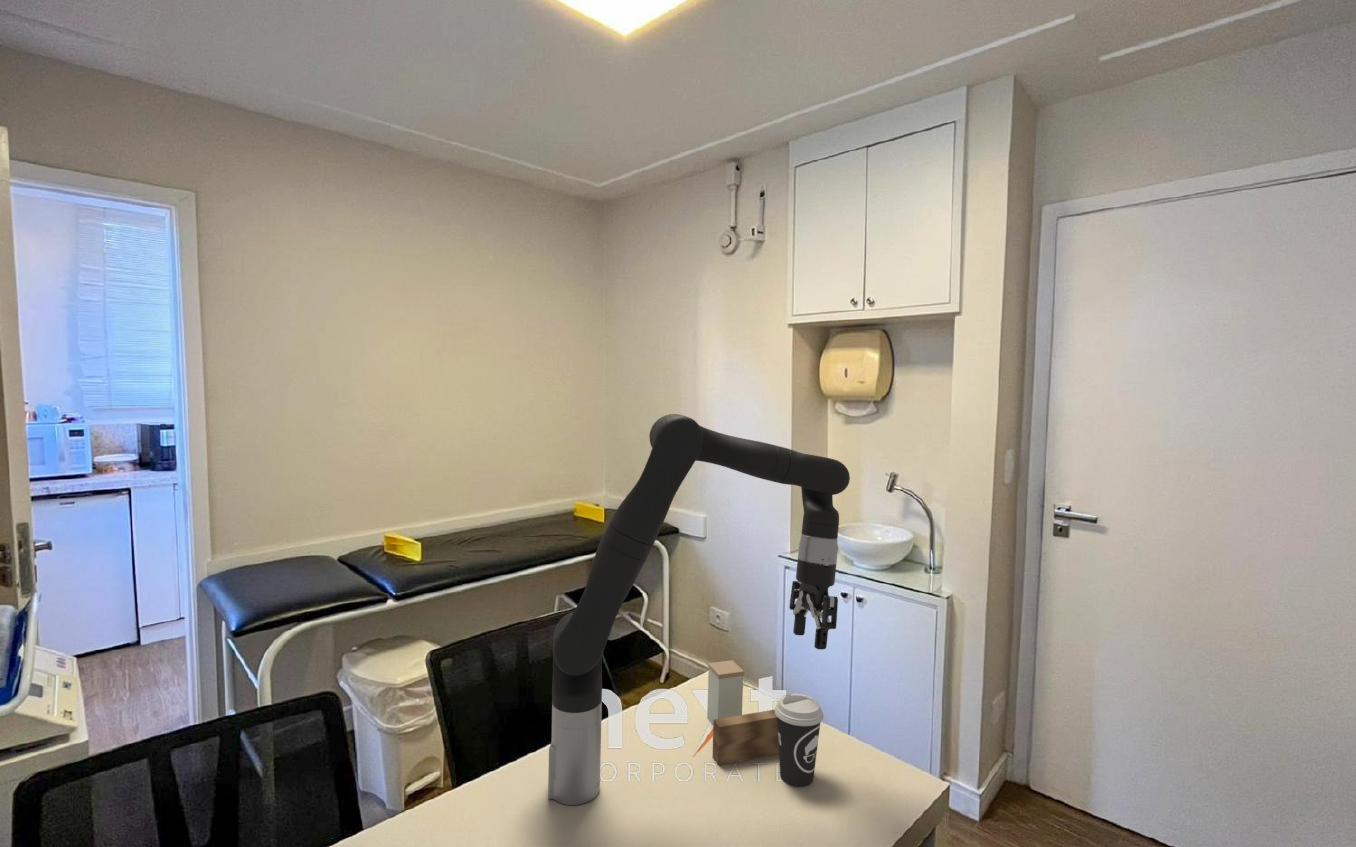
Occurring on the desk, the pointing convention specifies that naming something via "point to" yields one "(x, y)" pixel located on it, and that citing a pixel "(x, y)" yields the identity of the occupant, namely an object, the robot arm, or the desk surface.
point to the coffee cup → (798, 737)
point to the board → (745, 737)
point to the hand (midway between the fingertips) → (809, 641)
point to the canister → (724, 690)
